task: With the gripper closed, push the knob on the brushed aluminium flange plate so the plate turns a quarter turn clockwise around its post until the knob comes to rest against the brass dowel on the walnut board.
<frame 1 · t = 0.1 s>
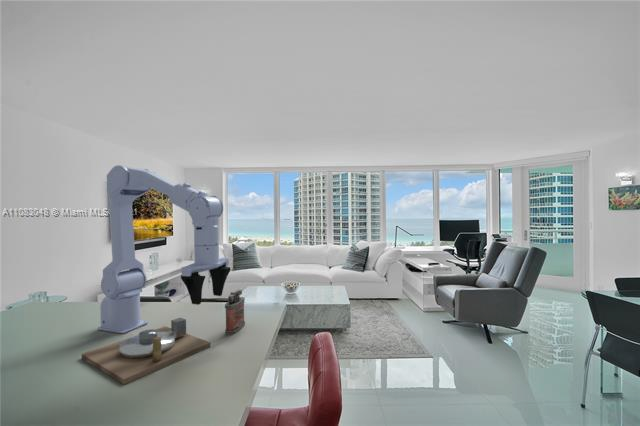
hand: (207, 299, 78), 10 cm above the table, tool pointing down, fingers open, 7 cm apart
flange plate: (155, 335, 73), point 3 cm above the table, hinge at 0.0°
walnut board: (148, 352, 72), on the table
lighter: (235, 329, 85), on the table
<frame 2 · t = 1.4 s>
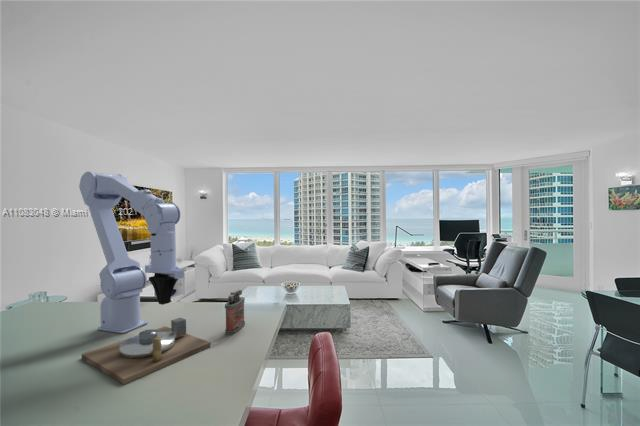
hand: (164, 303, 81), 8 cm above the table, tool pointing down, fingers closed
nothing on the table moved.
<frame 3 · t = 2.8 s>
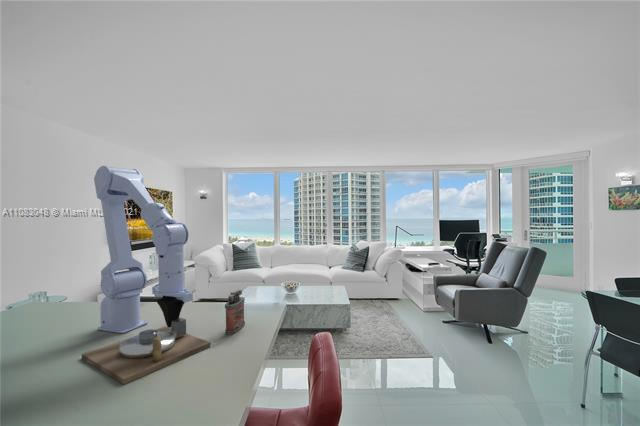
hand: (172, 326, 79), 3 cm above the table, tool pointing down, fingers closed
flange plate: (155, 335, 73), point 3 cm above the table, hinge at 0.0°, touching gripper
everything else where it was.
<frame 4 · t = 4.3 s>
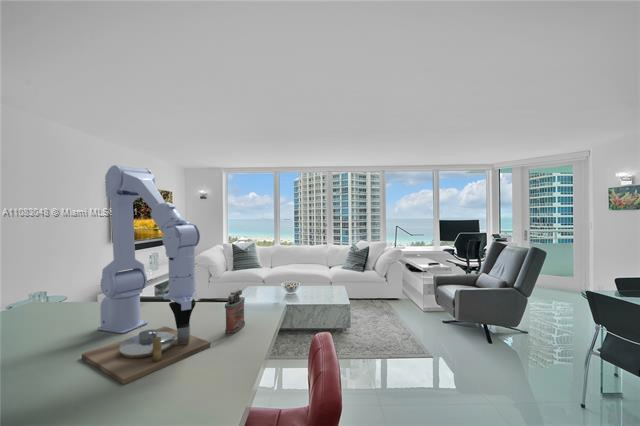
hand: (182, 331, 75), 3 cm above the table, tool pointing down, fingers closed, pressing on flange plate
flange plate: (155, 337, 72), point 3 cm above the table, hinge at -39.8°, touching gripper
everything else where it was.
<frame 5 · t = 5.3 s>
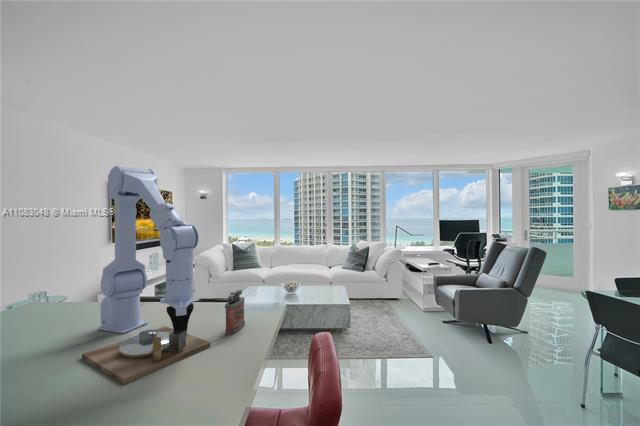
hand: (180, 337, 72), 3 cm above the table, tool pointing down, fingers closed, pressing on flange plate
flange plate: (154, 338, 71), point 3 cm above the table, hinge at -68.0°, touching gripper
everything else where it was.
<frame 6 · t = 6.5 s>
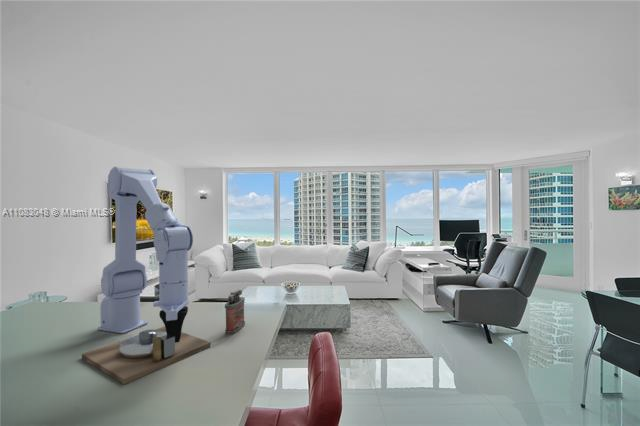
hand: (174, 341, 70), 3 cm above the table, tool pointing down, fingers closed, pressing on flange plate
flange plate: (151, 339, 71), point 3 cm above the table, hinge at -90.3°, touching gripper
everything else where it was.
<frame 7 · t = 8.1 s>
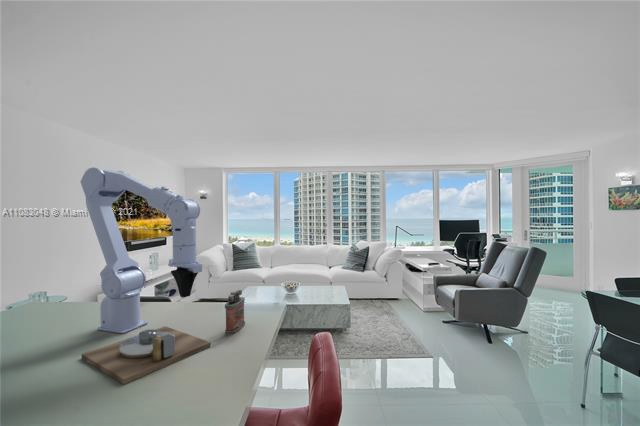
hand: (185, 296, 83), 9 cm above the table, tool pointing down, fingers closed
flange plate: (151, 339, 71), point 3 cm above the table, hinge at -90.9°, touching walnut board
everything else where it was.
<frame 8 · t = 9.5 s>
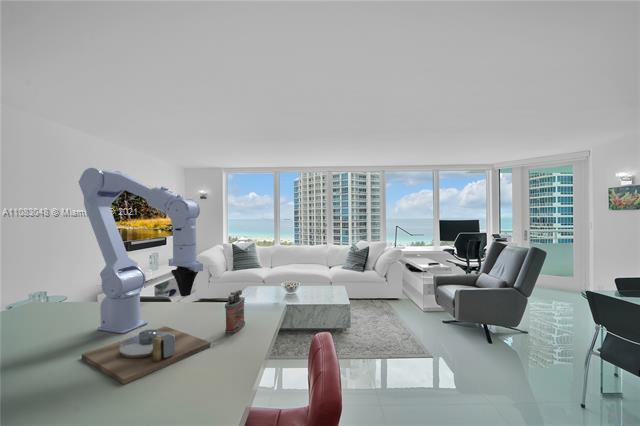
hand: (185, 295, 84), 9 cm above the table, tool pointing down, fingers closed
nothing on the table moved.
at the end: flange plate at -91° (first picture: +0°); lighter moved 0.2 cm from its start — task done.
